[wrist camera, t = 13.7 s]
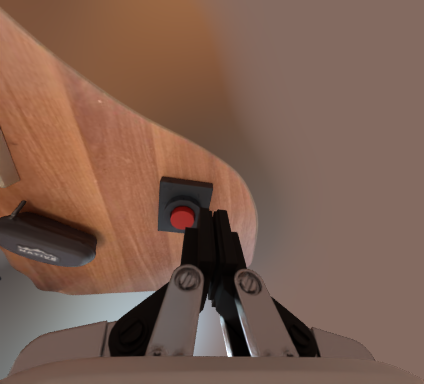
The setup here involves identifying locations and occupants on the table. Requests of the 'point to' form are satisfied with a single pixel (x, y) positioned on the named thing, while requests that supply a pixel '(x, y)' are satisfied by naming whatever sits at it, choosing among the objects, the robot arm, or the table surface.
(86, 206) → the table surface
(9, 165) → the base
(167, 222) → the switch block
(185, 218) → the button
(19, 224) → the glasses case
